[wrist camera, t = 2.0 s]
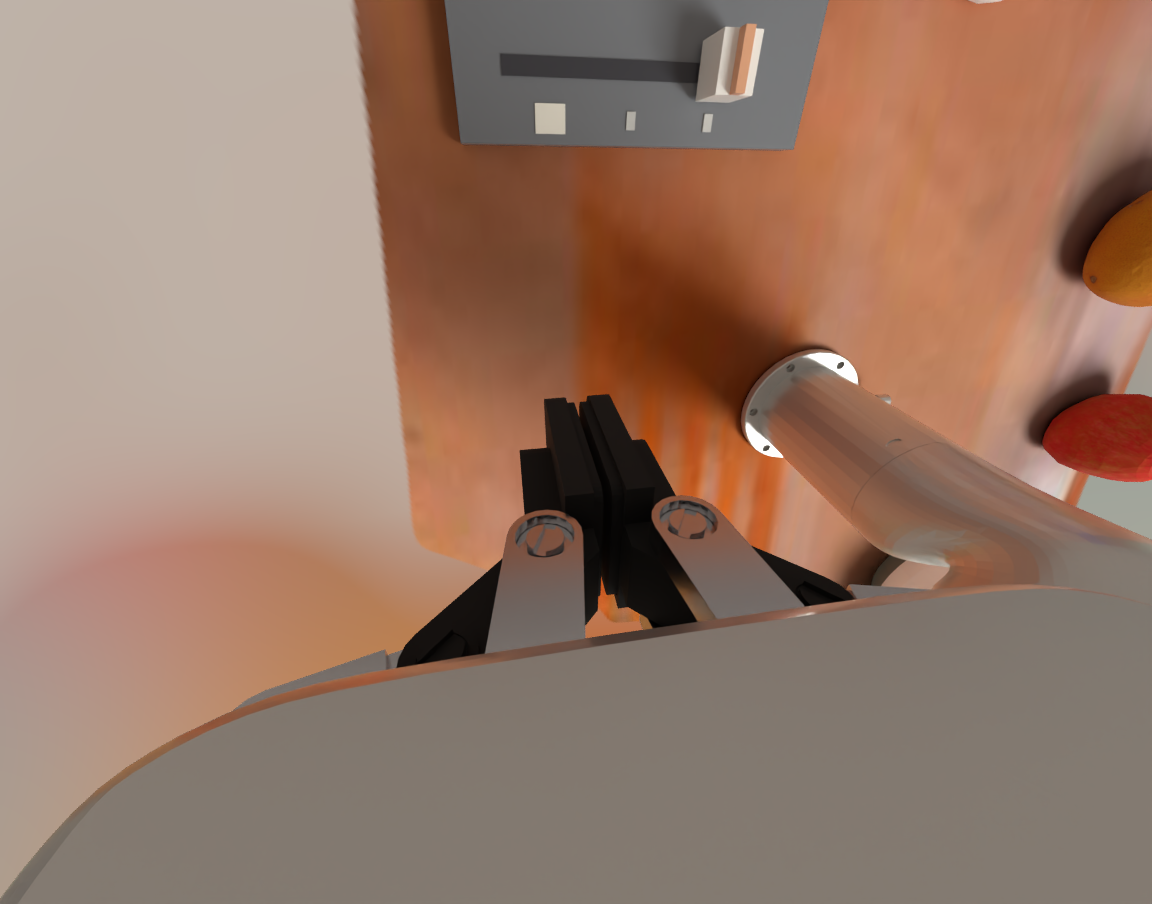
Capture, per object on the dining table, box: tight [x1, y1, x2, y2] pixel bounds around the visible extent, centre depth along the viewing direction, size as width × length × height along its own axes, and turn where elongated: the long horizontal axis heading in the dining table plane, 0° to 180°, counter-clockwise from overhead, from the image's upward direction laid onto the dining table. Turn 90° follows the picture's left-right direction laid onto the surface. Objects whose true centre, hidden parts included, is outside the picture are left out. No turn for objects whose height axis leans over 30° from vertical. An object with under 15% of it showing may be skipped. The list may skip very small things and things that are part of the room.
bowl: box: [871, 555, 950, 589], centre depth 64 cm, size 22×22×8 cm
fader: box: [695, 24, 764, 103], centre depth 26 cm, size 2×3×4 cm
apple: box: [1042, 394, 1152, 482], centre depth 50 cm, size 10×10×10 cm
